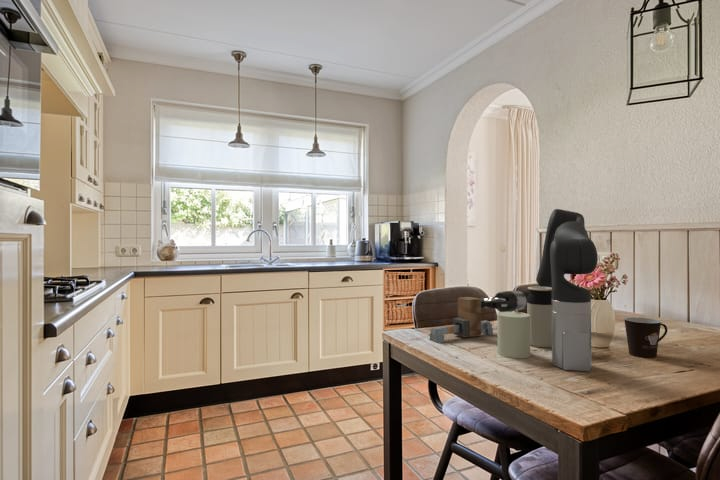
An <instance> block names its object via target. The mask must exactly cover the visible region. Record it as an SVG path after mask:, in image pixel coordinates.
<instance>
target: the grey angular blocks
mask: <svg viewBox="0 0 720 480" xmlns="http://www.w3.org/2000/svg"><path fill="white" fill-rule="evenodd" d="M481 334H483V335H487V336H492V335H494V328H493V323H490V324H486V328H484V329H481ZM429 340H430V341H432V342H436V343H438V344H441V343H445V334H444V331H442V330H440V331H437V336H436V335H433V334H432V328H430V332H429Z"/></svg>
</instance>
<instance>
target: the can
mask: <svg viewBox="0 0 720 480" xmlns="http://www.w3.org/2000/svg"><path fill="white" fill-rule="evenodd" d="M496 320H497V323H496V324H497V330H496V331H497V348H496V353H497V354H498V355H500V356H502V357H505V358H511V359H526V358H530V357H531V356H532V353H531V345H530V315H529V314H527V313H525V312H519V311H512V312H500V311H498V312H497V313H496Z"/></svg>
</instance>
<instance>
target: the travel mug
mask: <svg viewBox="0 0 720 480" xmlns="http://www.w3.org/2000/svg"><path fill="white" fill-rule="evenodd" d="M533 286H534V287H531V286H528V287H527V288H528V289H529V295H528V297H527V309H526V312H527V314H529V315H530V346H531V347H536V348H542V349H543V348H544V349H545V348H546V349H548V348H549V349H550V348H552V288H551V287H540V285H533Z"/></svg>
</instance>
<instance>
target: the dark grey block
mask: <svg viewBox="0 0 720 480" xmlns="http://www.w3.org/2000/svg"><path fill="white" fill-rule="evenodd" d="M452 320H453V321H452V323H453V324H452V325H455V324H462V332H457V333H453V335H455V336H458V337H462V338H469V320H466V319H462V318H458V317H454V318H453V319H452Z"/></svg>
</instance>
